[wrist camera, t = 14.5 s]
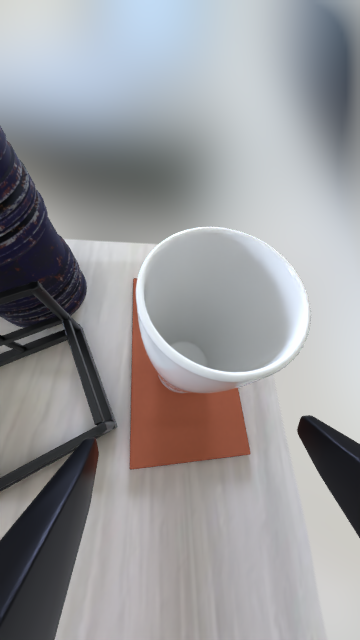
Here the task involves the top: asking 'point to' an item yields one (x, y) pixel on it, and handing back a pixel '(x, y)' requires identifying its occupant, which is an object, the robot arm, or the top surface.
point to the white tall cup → (219, 310)
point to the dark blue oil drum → (32, 247)
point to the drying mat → (179, 417)
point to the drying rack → (83, 363)
